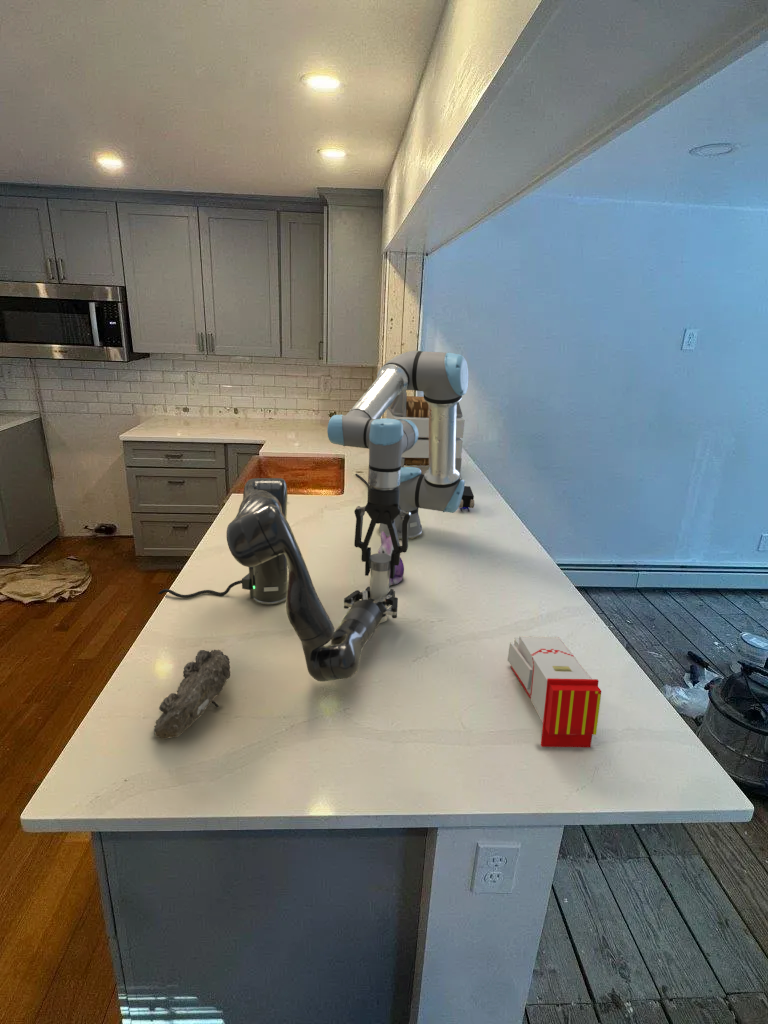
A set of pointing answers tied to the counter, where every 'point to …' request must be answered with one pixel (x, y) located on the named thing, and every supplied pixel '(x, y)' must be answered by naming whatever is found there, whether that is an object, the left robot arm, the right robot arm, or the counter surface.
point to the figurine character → (467, 499)
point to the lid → (380, 562)
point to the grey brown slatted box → (422, 429)
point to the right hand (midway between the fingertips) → (379, 574)
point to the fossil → (193, 693)
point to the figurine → (387, 549)
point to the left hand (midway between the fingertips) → (382, 590)
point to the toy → (557, 690)
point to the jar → (379, 586)
